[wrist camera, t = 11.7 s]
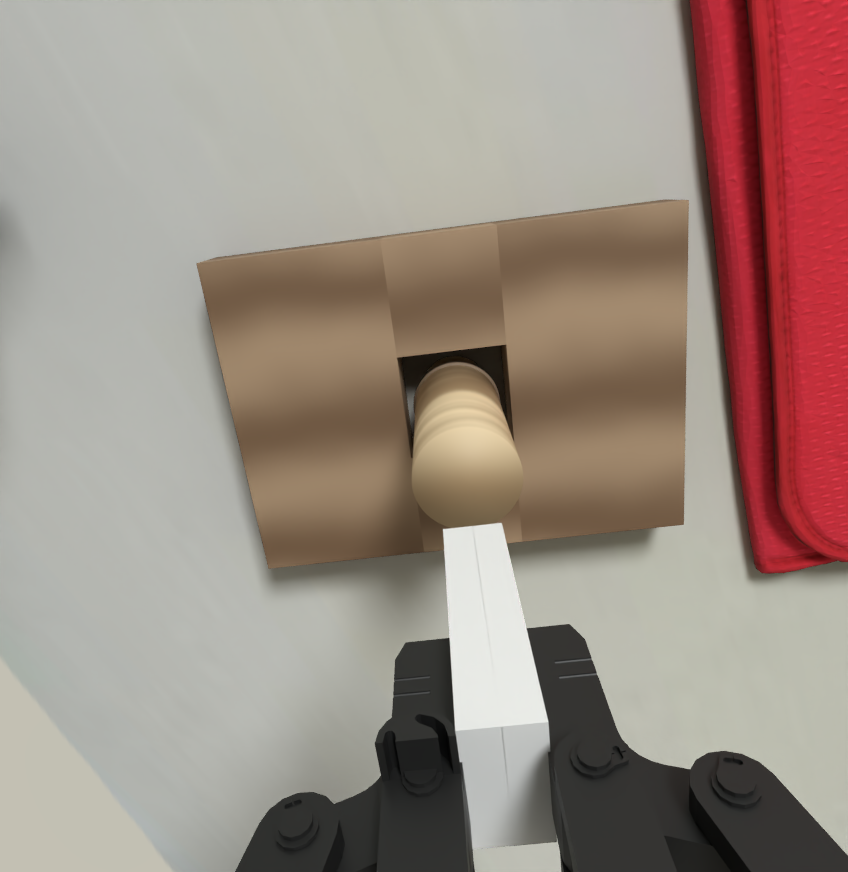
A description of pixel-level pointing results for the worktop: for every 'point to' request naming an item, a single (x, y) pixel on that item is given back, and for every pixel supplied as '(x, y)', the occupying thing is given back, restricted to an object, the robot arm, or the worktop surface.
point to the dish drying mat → (782, 260)
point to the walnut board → (449, 331)
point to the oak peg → (463, 447)
